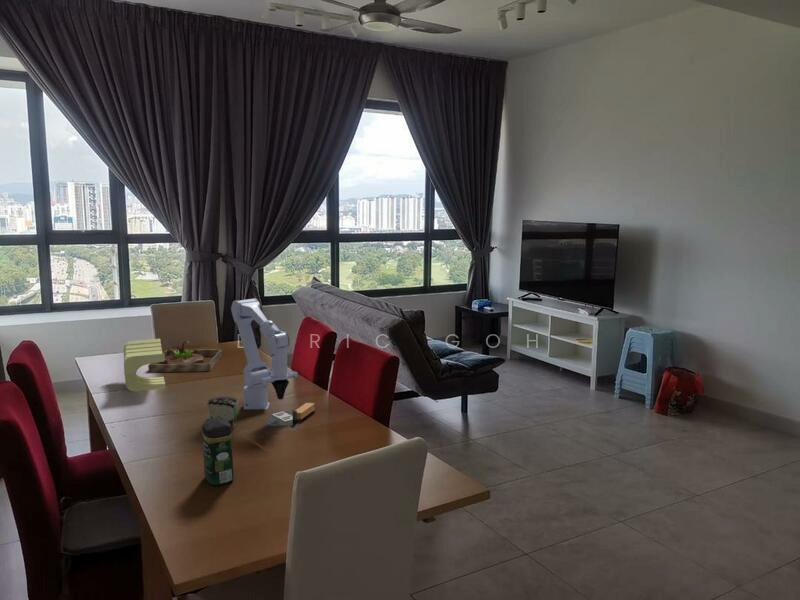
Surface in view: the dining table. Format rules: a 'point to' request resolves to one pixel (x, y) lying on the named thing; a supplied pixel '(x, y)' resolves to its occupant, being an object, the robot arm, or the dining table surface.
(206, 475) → the coffee jar
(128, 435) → the dining table surface
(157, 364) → the square wooden planter tray
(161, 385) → the slatted curved stool
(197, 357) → the plant
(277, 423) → the tray
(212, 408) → the food container
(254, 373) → the robot arm
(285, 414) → the label far
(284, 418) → the label near
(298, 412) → the yellow rectangular bar
